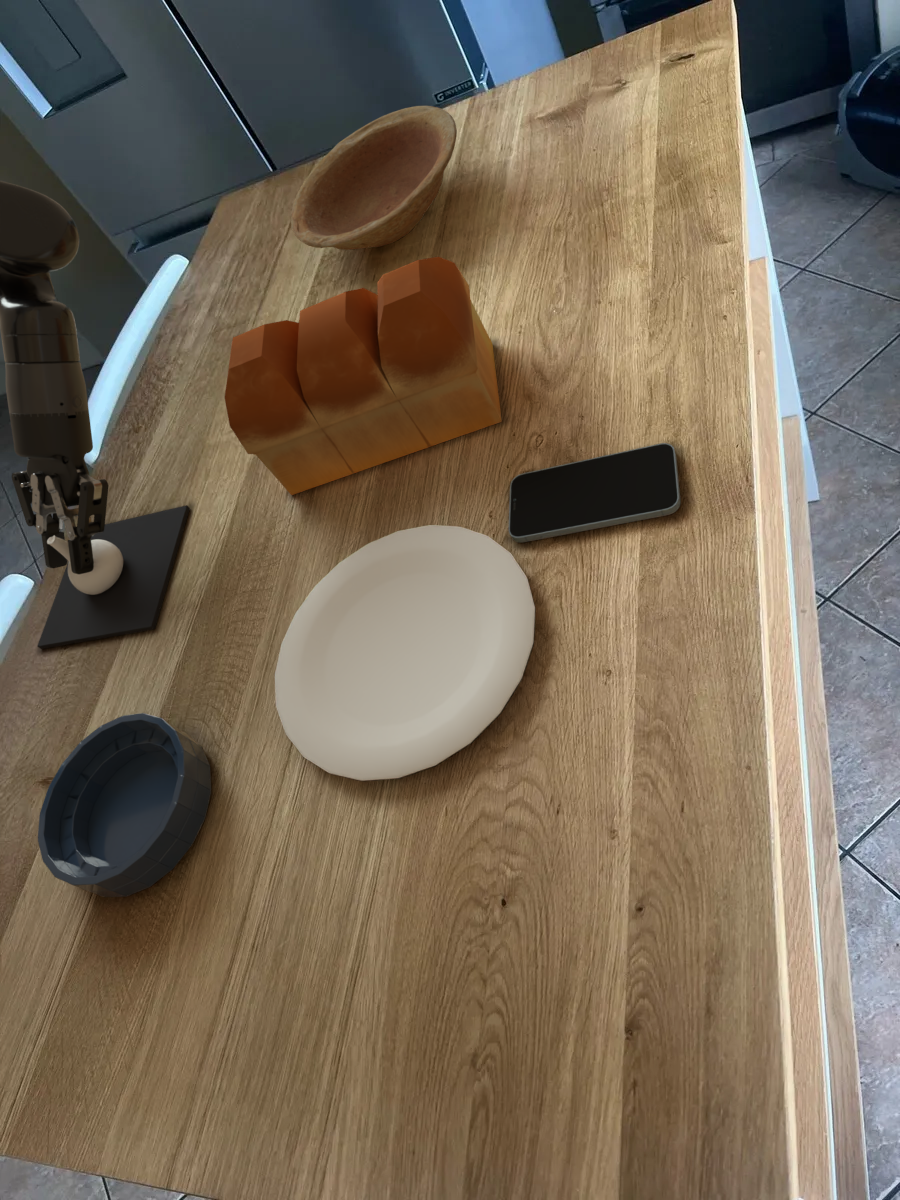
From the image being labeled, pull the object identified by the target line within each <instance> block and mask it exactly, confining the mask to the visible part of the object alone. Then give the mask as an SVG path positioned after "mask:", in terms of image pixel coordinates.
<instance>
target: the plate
mask: <svg viewBox="0 0 900 1200" xmlns="http://www.w3.org/2000/svg"><path fill="white" fill-rule="evenodd" d="M536 610H537V609H536V606H535V601H534V597H533V593H532V590H531V587H530V581H529V579H528V577H527V575H526V574H525V572H524V571H523V569H522V568H521V566H520V565H519V563H518V561H517V560H516V559H515V557H514V556H513V554H512V553H511V552H510V551H509V550H508V549H506V548H505V547H504V546H502V545H501V544H500V543H498V542H497V541H496V540H494V539H493V538H492V537H490V536H489V535H486V534H484V533H481V532H478V531H475V530H472V529H469V528H466V527H463V526H461V525H440V524H439V525H438V524H428V525H421V526H417V527H410V528H407V529H401V530H397V531H395V532H392V533H390V534H387V535H385V536H383V537H380V538H377V539H375V540H373V541H371V542H368V543H367V544H365V545H363V546H362V547H360V548H359V549H357V550H356V551H355V552H353V553H352V554H350V555H349V556H346V557H345V558H343V559H342V560H341V561H339V563H337V564H336V565H335V566H334V567H333V568H332V569H331V570H330V571H328V573H327V574H326V575H324V576H323V578H321V580H319V581H318V583H316V584H315V585H314V587H313V588H312V590H311V591H310V592H309V593H308V595H307V596H306V598H305V599H304V600H303V602H302V603H301V605H300V606H299V607H298V609H296V611H295V613H294V616H293V618H292V620H291V622H290V624H289V626H288V628H287V630H286V633H285V635H284V637H283V639H282V642H281V644H280V648H279V653H278V657H277V663H276V667H275V672H274V690H275V691H274V694H275V695H274V696H275V707H276V711H277V714H278V716H279V719H280V722H281V725H282V728H283V731H284V734H285V736H286V737H287V738H288V739H289V741H290V742H291V743H292V744H293V746H294V747H295V748H296V749H297V750H298V752H299V753H300V754H301V756H302V758H305V760H307V761H309V762H311V763H312V764H314V765H316V766H317V767H319V768H320V769H322V770H323V771H325V772H327V773H328V774H330V775H333V776H338V777H342V778H347V779H351V780H356V781H360V782H372V781H373V782H374V781H389V780H399V779H403V778H405V777H408V776H411V775H414V774H418V773H420V772H423V771H425V770H429V769H431V768H435V767H437V766H439V765H440V764H442V763H444V762H446V761H447V760H448V759H450V758H451V757H453V756H454V755H456V754H457V753H459V752H461V751H462V750H464V749H466V748H468V747H469V746H470V745H472V744H473V743H474V742H475V741H476V740H477V739H478V738H479V737H480V736H481V735H482V734H483V732H485V731H486V730H487V729H488V728H489V727H490V726H491V725H492V724H493V723H494V722H495V721H496V720H497V719H498V717H499V716H501V714H502V713H503V711H504V709H505V708H506V706H507V705H508V703H509V702H510V700H511V698H512V697H513V695H514V693H515V692H516V690H517V689H518V687H519V685H520V684H521V682H522V681H523V678H524V675H525V672H526V669H527V666H528V663H529V661H530V656H531V654H532V651H533V648H534V645H535V632H536V631H535V628H536Z"/></svg>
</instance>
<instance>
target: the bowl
mask: <svg viewBox="0 0 900 1200" xmlns="http://www.w3.org/2000/svg"><path fill="white" fill-rule="evenodd" d="M457 135H458V131H457V124H456V121H455V119H454V118H453V116H452V115H451V113H449V112H448V111H447V110H445V109H443V108H441V107H439V106H438V107H437V106H433V105H415V106H411V107H410V106H409V107H405V108H401V109H398V110H396V111H392V112H389V113H387V114H384V115H382V116H380V117H378V118H376V119H374V120H372V121H370V122H368V123H367V124H365V125H363V126H361V127H359V128H358V129H357V130H355V131H354V132H352V133H351V134H349V135H348V136H346V137H345V138H344V139H342V140H341V141H339V142H337V144H335V146H334V147H333V148H332V149H331V150H329V152H328V153H327V154H326V155H325V156H323V158H321V160H320V161H318V163H317V164H316V165H315V166H314V167H313V169H312V170H311V171H310V172H309V174H308V175H307V176H306V178H305V179H304V181H303V183H302V184H301V186H300V188H299V190H298V191H297V194H296V196H295V198H294V201H293V204H292V210H291V217H290V225H291V229H292V232H293V234H294V236H295V237H296V238H297V239H298V241H300V242H301V243H303V244H305V245H306V246H308V247H312V248H315V249H324V248H335V249H337V250H342V251H344V250H345V251H346V250H347V251H349V250H350V251H351V250H359V249H369V248H379V247H383V246H387V245H390V244H393V243H396V242H398V241H399V240H401V239H403V238H404V237H406V236H408V234H409V233H410V232H412V231H413V230H414V229H415V227H416V226H417V225H418V224H419V223H420V222H421V221H422V220H423V217H424V215H425V214H426V212H427V211H428V210H429V208H430V207H431V205H432V204H433V202H434V201H435V199H436V197H437V196H438V194H439V192H440V191H441V188H442V185H443V181H444V172H445V170H446V168H447V167H448V165H449V164H450V160H451V159H452V157H453V152H454V149H455V146H456V141H457Z"/></svg>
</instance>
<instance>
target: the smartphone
mask: <svg viewBox="0 0 900 1200" xmlns="http://www.w3.org/2000/svg"><path fill="white" fill-rule="evenodd" d="M675 450H676V449H675V447H674V446H673V445H672V444H670V443H666V442H662V443H657V444H651V445H647V446H642V447H639V448H633V449H629V450H623V451H619V452H615V453H610V454H606V455H601V456H597V457H592V458H587V459H583V460H578V461H573V462H569V463H565V464H560V465H555V466H550V467H546V468H541V469H537V470H533V471H528V472H523V473H519V474H517V475H516V476H515V477H514V478H512V480H511V481H510V484H509V504H508V505H509V508H508V511H509V512H508V534H509V535H510V537H511V539H512V540H513V541H514V542H516V543H526V542H533V541H537V540H543V539H548V538H553V537H559V536H564V535H569V534H575V533H581V532H585V531H590V530H595V529H596V530H597V529H602V528H607V527H611V526H618V525H623V524H627V523H633V522H638V521H644V520H649V519H654V518H660V517H666V516H670V515H672V514H674V513H676V512H677V511H678V510H679V508H680V506H681V490H680V481H679V471H678V469H679V468H678V459H677V454H676V451H675Z"/></svg>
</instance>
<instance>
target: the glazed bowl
mask: <svg viewBox="0 0 900 1200" xmlns="http://www.w3.org/2000/svg"><path fill="white" fill-rule="evenodd" d="M211 795H212V777H211V765H210V763H209V761H208V758H207V755H206V753H205V751H204V749H203V747H202V745H200V744H199V743H198V742H197V741H196V740H195V739H194V738H193V737H192V736H191V735H190V734H188V733H186V732H185V731H184V730H181V729H180V728H179V727H177V726H175V724H172V723H171V722H169V721H168V720H166V719H164V718H163V717H160V716H156V715H153V714H149V713H146V712H141V713H134V714H124V715H121V716H119V717H117V718H114V719H112V720H110V721H108V722H106V723H104V724H101V725H100V726H99V727H97V728H96V729H95V730H94V731H92V732H91V733H90V734H88V735H87V736H86V737H84V738H83V739H82V740H81V741H80V742H79V743H78V744H77V745H76V747H74V749H73V750H72V751H71V752H70V753H69V754H68V756H67V757H66V758H64V760H63V762H62V763H61V764H60V766H59V768H58V770H57V772H56V773H55V775H54V777H53V779H52V780H51V782H50V783H49V786H48V788H47V790H46V792H45V797H44V800H43V803H42V806H41V809H40V811H39V816H38V828H37V829H38V830H37V843H38V847H39V851H40V855H41V860H42V862H43V864H44V865H45V866H46V867H47V869H48V870H49V871H50V873H51V875H53V877H54V878H55V879H58V880H60V881H62V882H64V883H67V884H69V885H70V886H73V887H76V888H79V889H80V890H84V891H87V892H89V893H92V894H94V895H97V896H100V897H103V898H122V897H123V898H124V897H129V896H131V895H135V894H136V893H139V892H141V891H143V890H146V889H148V888H151V887H152V886H153V885H155V884H156V883H157V882H159V881H160V880H162V878H164V877H165V876H166V875H167V874H169V873H170V872H171V871H173V869H174V868H175V867H176V866H177V865H178V864H179V863H180V862H181V860H182V858H183V857H184V856H185V855H186V854H187V852H188V851H189V850H190V849H191V847H192V846H193V844H194V842H195V840H196V838H197V837H198V834H199V832H200V830H201V828H202V826H203V824H204V822H205V819H206V817H207V812H208V808H209V803H210V798H211Z"/></svg>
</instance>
